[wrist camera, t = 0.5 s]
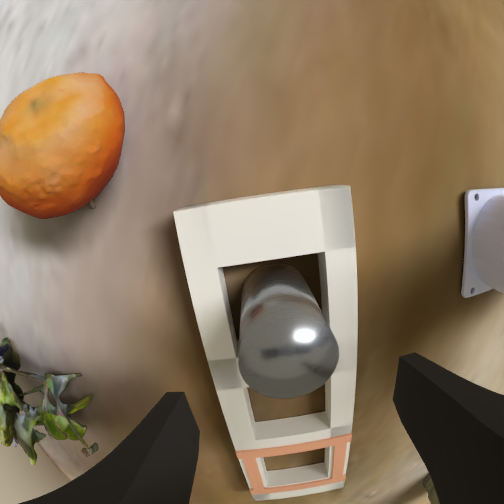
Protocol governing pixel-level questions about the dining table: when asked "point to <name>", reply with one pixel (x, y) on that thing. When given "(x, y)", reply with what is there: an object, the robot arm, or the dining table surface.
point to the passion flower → (35, 408)
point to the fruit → (60, 144)
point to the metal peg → (283, 335)
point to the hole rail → (227, 346)
